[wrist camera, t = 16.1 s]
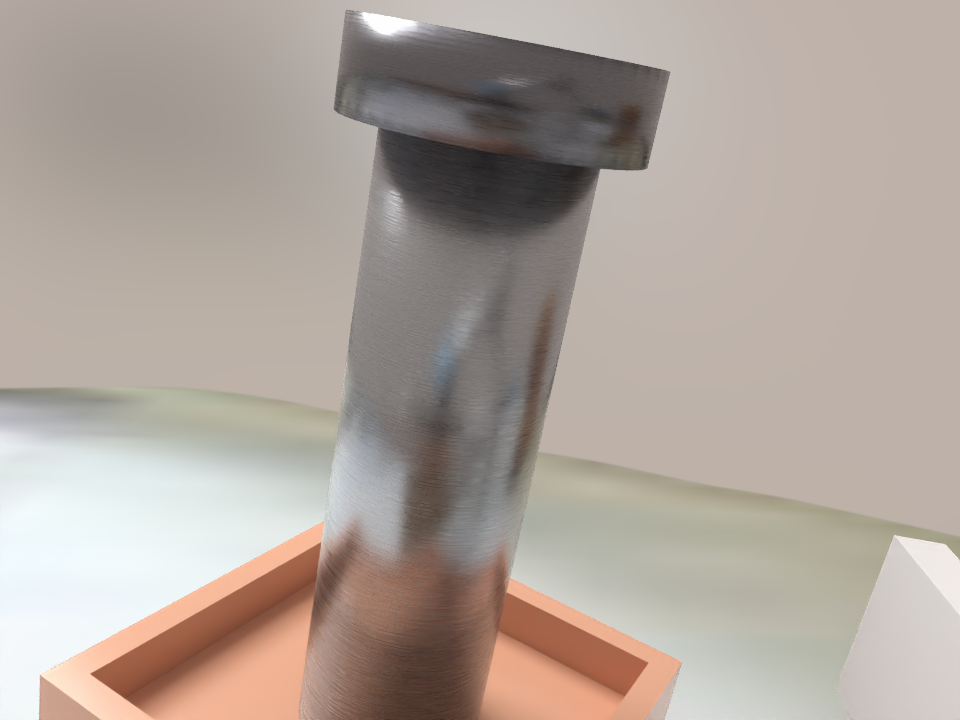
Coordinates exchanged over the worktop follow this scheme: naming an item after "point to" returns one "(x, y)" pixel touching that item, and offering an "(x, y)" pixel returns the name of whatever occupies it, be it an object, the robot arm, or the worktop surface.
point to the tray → (283, 643)
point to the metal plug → (453, 346)
